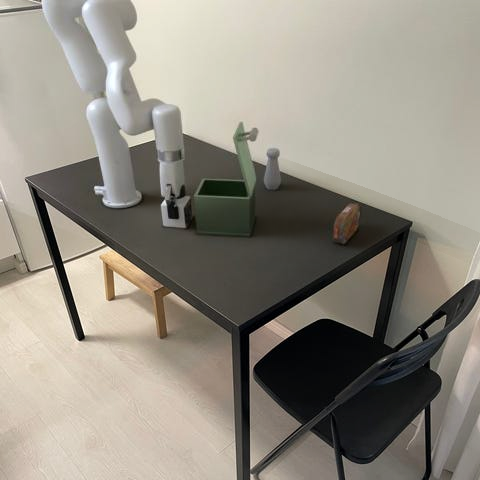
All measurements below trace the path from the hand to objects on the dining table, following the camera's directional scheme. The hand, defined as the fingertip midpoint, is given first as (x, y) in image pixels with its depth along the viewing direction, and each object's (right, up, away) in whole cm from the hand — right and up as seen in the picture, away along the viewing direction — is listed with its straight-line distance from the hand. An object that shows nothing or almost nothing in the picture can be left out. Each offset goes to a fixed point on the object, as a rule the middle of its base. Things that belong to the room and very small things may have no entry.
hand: (177, 211), depth 145 cm
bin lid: (+20, +11, -13) cm, 26 cm away
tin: (+49, -9, -6) cm, 50 cm away
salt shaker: (+30, +13, +21) cm, 38 cm away
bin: (+15, -4, 0) cm, 15 cm away
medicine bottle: (0, -3, +2) cm, 4 cm away
